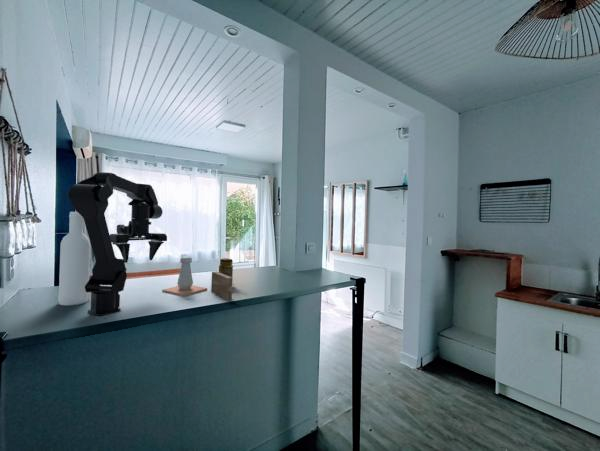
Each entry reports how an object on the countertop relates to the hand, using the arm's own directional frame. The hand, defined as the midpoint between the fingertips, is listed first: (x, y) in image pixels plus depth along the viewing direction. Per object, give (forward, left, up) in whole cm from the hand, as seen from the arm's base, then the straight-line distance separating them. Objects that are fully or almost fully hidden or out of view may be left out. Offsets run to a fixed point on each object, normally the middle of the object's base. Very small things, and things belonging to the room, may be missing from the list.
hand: (138, 261), depth 103 cm
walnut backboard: (+21, -21, -13) cm, 32 cm away
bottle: (-16, +9, -13) cm, 23 cm away
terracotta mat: (+16, -6, -13) cm, 21 cm away
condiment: (+32, -12, -13) cm, 37 cm away
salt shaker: (+16, -6, -12) cm, 21 cm away
